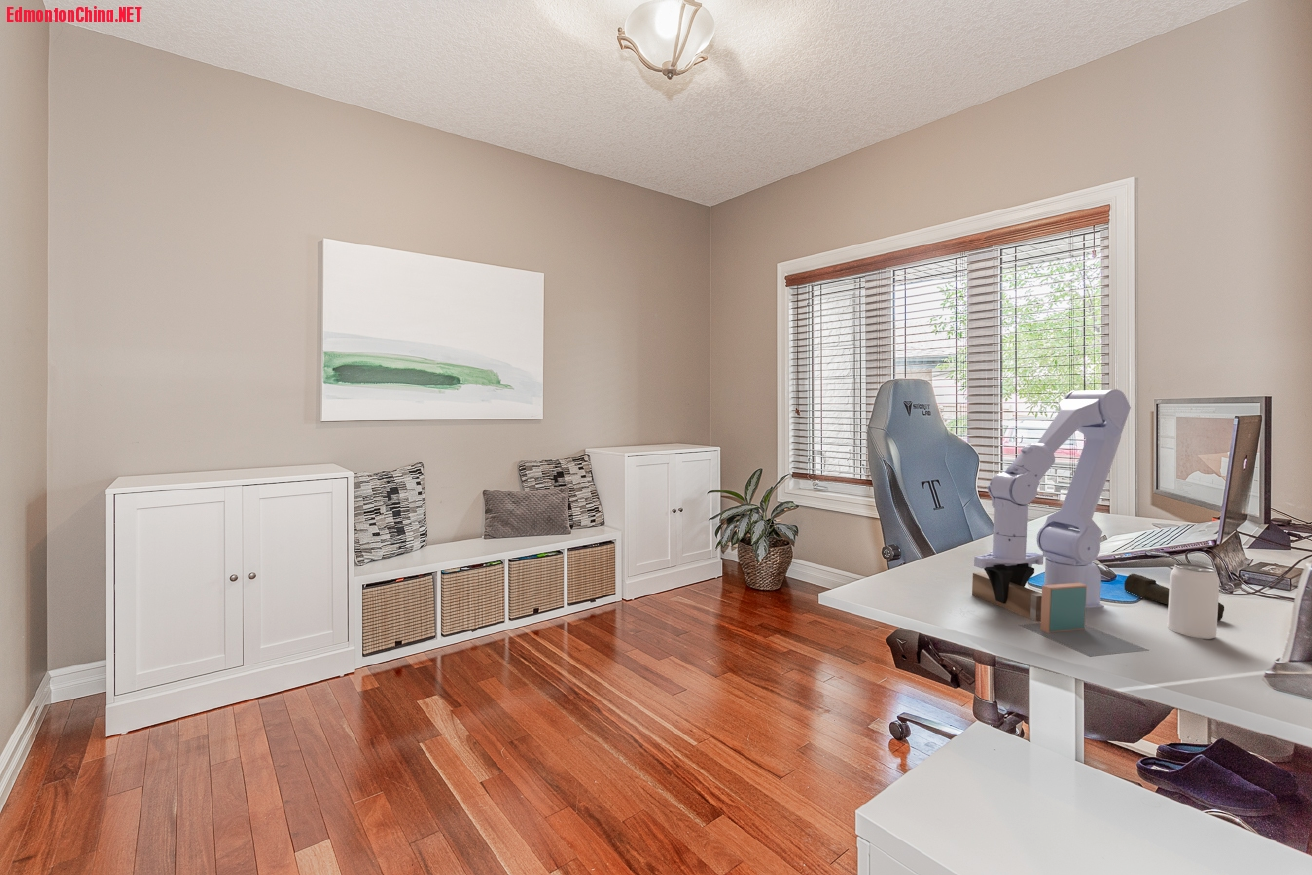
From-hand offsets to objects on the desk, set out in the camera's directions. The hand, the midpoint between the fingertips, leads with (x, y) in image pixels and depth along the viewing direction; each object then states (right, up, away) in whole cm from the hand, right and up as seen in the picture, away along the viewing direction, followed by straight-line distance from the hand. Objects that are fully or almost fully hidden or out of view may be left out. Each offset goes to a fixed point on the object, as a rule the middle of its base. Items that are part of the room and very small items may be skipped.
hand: (1007, 601), depth 119 cm
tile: (+3, -2, -12) cm, 13 cm away
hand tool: (+34, -2, +3) cm, 34 cm away
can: (+26, -3, -12) cm, 28 cm away
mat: (+4, -2, -15) cm, 16 cm away
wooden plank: (0, -1, 0) cm, 1 cm away
